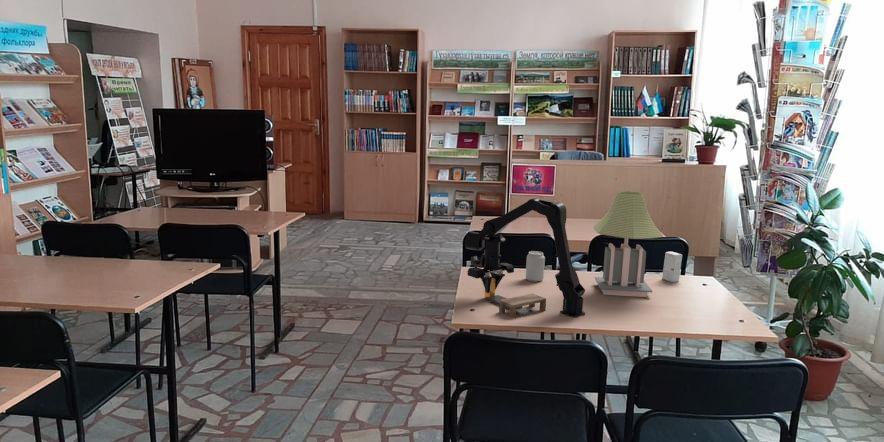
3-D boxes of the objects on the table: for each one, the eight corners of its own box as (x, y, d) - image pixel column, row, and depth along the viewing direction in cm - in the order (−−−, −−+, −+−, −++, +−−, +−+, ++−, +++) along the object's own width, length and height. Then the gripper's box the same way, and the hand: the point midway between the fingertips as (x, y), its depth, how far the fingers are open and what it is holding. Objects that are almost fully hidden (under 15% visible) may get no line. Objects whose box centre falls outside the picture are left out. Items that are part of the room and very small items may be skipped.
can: (523, 280, 269) (524, 252, 267) (529, 276, 276) (530, 249, 273) (539, 283, 266) (541, 255, 263) (545, 279, 272) (547, 251, 270)
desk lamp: (646, 283, 271) (655, 189, 264) (662, 303, 243) (672, 199, 236) (585, 279, 273) (592, 187, 266) (594, 299, 246) (602, 196, 239)
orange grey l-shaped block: (522, 307, 232) (523, 286, 231) (509, 310, 229) (511, 288, 227) (492, 296, 245) (493, 275, 244) (480, 298, 242) (481, 277, 240)
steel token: (533, 314, 227) (533, 311, 227) (522, 316, 224) (522, 313, 224) (523, 310, 231) (524, 307, 231) (513, 312, 228) (513, 309, 228)
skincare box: (661, 278, 279) (664, 251, 277) (668, 277, 281) (671, 251, 279) (672, 282, 274) (675, 254, 272) (680, 281, 276) (682, 254, 274)
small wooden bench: (545, 310, 230) (546, 298, 229) (512, 317, 220) (513, 305, 219) (531, 305, 235) (532, 293, 234) (499, 312, 226) (499, 300, 225)
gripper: (496, 245, 251) (495, 283, 254) (459, 250, 240) (457, 290, 243) (515, 251, 242) (513, 290, 245) (477, 256, 231) (476, 298, 234)
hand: (490, 292), depth 242 cm, fingers closed on orange grey l-shaped block, 2 cm apart
